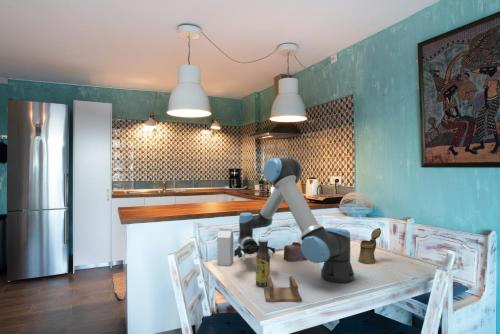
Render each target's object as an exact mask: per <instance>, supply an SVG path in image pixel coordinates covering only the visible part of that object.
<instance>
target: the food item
mask: <svg viewBox="0 0 500 334" xmlns="http://www.w3.org/2000/svg"><path fill="white" fill-rule="evenodd" d="M301 244H302V243H300V242H295V241H294V242H292V243H291V244H287V245H286V244H285V246H284V247H283V260H284V261H286V262H288V263H289V262H295V261H297V262H300V261H303V260H307V259H306V258H305V256H304V255H303V253H302V250H301V247H302V246H301Z"/></svg>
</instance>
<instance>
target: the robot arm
mask: <svg viewBox="0 0 500 334" xmlns="http://www.w3.org/2000/svg"><path fill="white" fill-rule="evenodd" d="M262 170H263V171H262V173H263V178H264V179H265V180H266V181H267V182H268V183H272V185H273V187H274V189H273V191H272V192H271V194H270V195H269V197H268V198H267V200H266V202H265V203H264V205H263V207H262V208H261V209H260V211H259V213H258V214H254V215H253V213H251V212H241V213H240V214H239V219H238V223H239V224H238V227H239V230H238V231H239V232H238V238H237V242H238V244H239V245H238V247H237V248H236V249H234V250H233V257H237V258H238V259H240V258H241V259H242V261H245V260H246V255H253V254H257V253H258V252H259V244H258V243H257V241H256V240H255V239H254V238H253V237H254V230H255V229H261V228H267V227H269V226H271V225H273V216H274V215H275V214H276V212H277V210H278V209H279V208H280V206H281V205H282V203H283V201H284V202H285V203H286V205H287V207H288V209H289V211H290V213H291V215H292V217H293V219H294V220H295V223H296V225H297V226H298V228H299V230H300V232H301V236H300V239H301V243H300V244H301V246H302V247H301V250H302V253H303V255H304V256H305V258H306V259H305V260H307V261H309V262H311V263H313V264H319V263H323V265H322V267H321V271H320V276H321V278H322V279H323V280H325V281H327V282H331V283H337V284H344V283H345V284H347V283H351V282H353V281H354V280H355V272H354V269H353V266H352V263H351V232H350V231H349V230H347V229H345V228H344V229H343V228H337V227H324V225H321V224H319V223H318V220H317V219H316V218H315V216H314V213H313V212H312V210H311V208H310V207H309V205H308V203H307V200H306V199H305V197H304V195H303V194H302V192H301V190H300V188H299V186H298V185H297V184H298V183H299V181H300V179H301V177H302V172H303V169H302V166H301V164H300V162H299V161H298V160H296V159H294V158H292V157H290V158H287V157H285V158H284V157H282V158H280V157H274V158H272V157H271V158H269V159H268V160H266V162H265V164H264V165H263V169H262ZM267 249H268V250H267V251H268V253H269V255H270V259H274V255H275V254H276V248H274V247H271V246H268V245H267Z"/></svg>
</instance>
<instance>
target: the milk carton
mask: <svg viewBox="0 0 500 334" xmlns="http://www.w3.org/2000/svg"><path fill="white" fill-rule="evenodd" d="M216 237H217V238H216V241H217V242H216V243H217V245H216V249H217V251H216V253H217V255H216V256H217V259H216V261H217V266H226V267H227V266H231V265H232V264H233V263H234V233H233V229H232V228H218V233H217V236H216Z"/></svg>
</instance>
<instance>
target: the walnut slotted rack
mask: <svg viewBox="0 0 500 334" xmlns="http://www.w3.org/2000/svg"><path fill="white" fill-rule="evenodd" d="M288 277H289V279H288V280H289V286H288V287H286V286H285V287H279V286H278V287H274V281H273V280H272V276H271V275H270V276H267V286H266V287H263V293H264V299H265V302H266V303H281V302H302V301H303V298H302V296H301V294H300V291H299V285H298V283H297V281H296V278H295V277H294V275H289V276H288Z"/></svg>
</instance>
